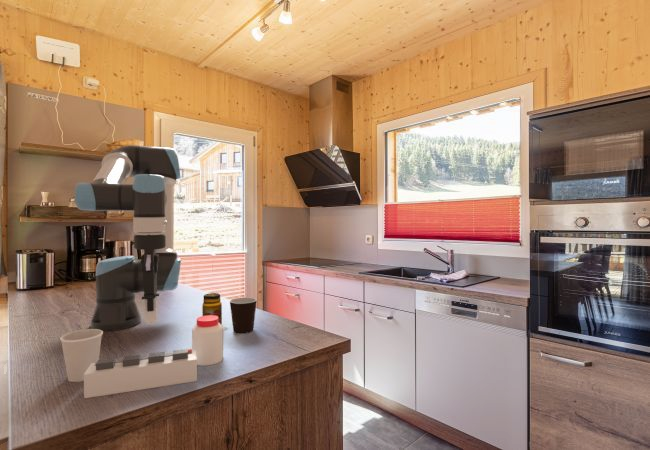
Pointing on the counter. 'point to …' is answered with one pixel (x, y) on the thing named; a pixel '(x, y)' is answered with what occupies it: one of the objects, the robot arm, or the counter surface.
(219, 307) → the condiment
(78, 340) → the dixie cup
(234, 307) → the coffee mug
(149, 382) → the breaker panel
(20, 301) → the counter surface
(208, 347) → the pill bottle
